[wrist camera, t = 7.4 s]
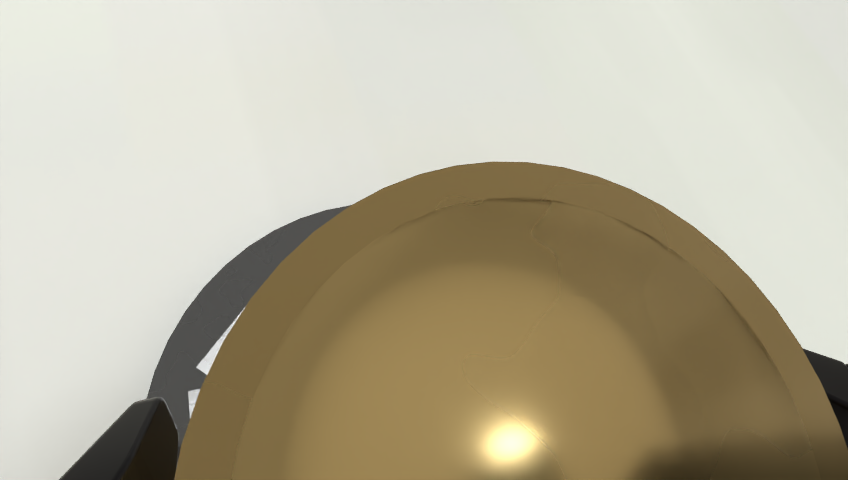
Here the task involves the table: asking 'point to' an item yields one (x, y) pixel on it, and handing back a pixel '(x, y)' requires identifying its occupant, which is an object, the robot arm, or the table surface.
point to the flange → (221, 316)
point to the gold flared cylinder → (510, 347)
